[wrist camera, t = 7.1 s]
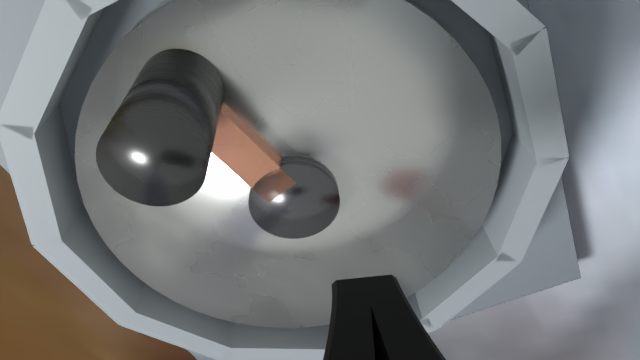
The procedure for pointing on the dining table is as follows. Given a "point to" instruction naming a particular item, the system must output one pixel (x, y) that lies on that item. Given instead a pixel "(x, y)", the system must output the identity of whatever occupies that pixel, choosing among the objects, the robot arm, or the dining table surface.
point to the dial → (286, 152)
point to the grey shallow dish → (266, 342)
